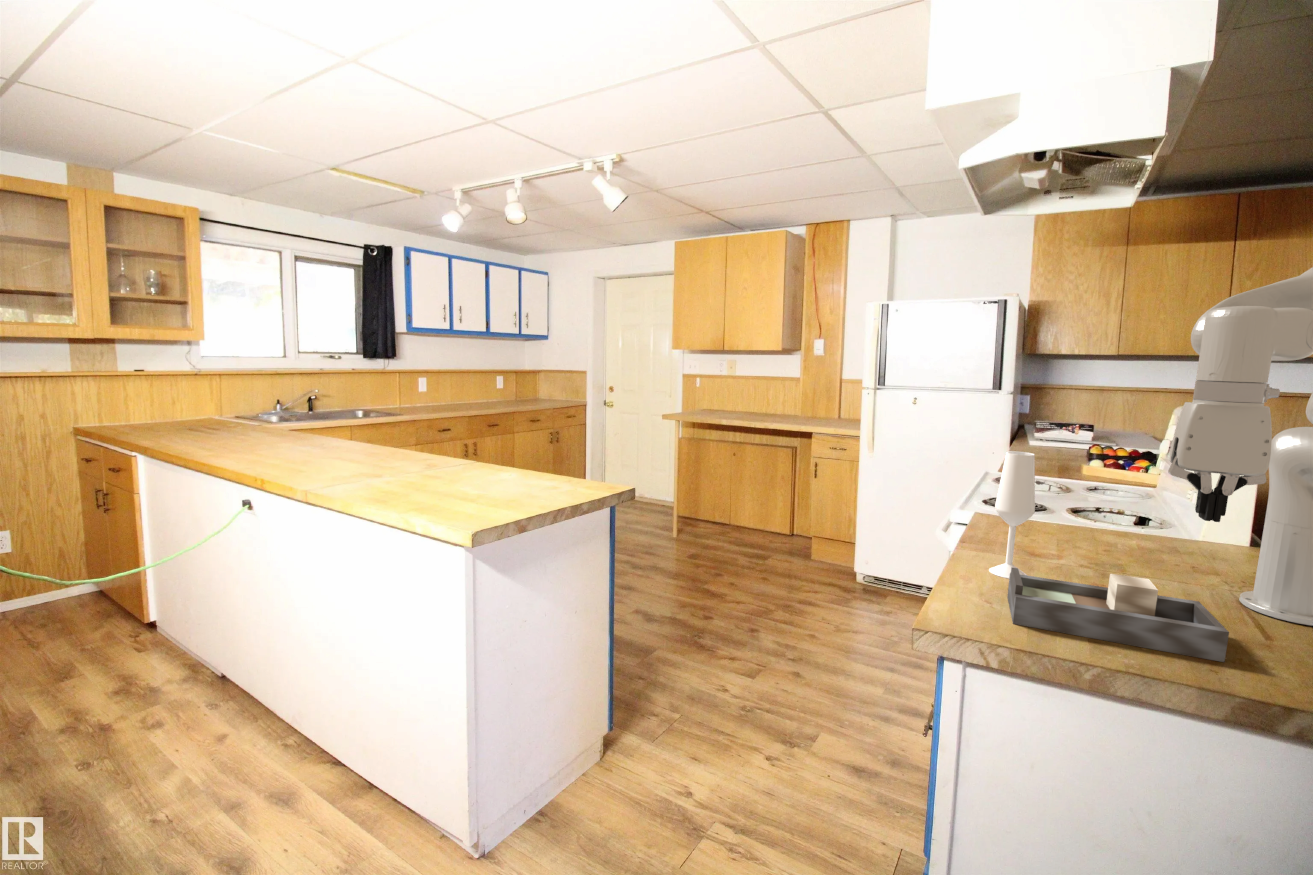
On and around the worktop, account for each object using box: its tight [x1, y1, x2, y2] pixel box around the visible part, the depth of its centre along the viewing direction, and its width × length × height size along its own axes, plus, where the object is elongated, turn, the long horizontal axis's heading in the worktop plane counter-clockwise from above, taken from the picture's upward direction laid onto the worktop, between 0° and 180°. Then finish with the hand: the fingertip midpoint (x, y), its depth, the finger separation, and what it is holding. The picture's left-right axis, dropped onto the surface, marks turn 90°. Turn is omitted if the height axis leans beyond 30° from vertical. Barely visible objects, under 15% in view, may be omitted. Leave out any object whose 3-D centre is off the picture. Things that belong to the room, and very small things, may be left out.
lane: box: [1007, 567, 1230, 663], centre depth 97 cm, size 26×12×6 cm, turn 64°
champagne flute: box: [988, 450, 1036, 579], centre depth 118 cm, size 7×7×24 cm
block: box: [1106, 573, 1159, 616], centre depth 95 cm, size 5×5×5 cm
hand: (1208, 519), depth 89 cm, fingers closed
